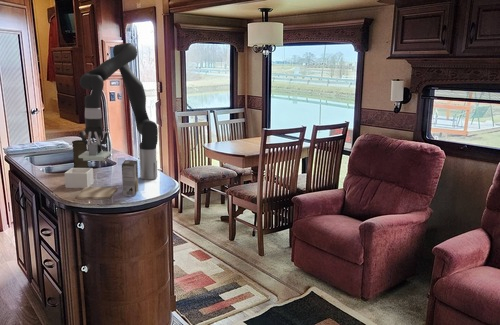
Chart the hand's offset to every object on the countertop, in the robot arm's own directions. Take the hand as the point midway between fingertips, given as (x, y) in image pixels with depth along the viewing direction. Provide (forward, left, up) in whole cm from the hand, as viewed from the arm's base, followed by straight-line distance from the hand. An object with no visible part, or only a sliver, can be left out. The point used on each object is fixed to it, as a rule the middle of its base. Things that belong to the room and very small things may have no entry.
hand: (95, 152), depth 204 cm
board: (0, 0, -21) cm, 21 cm away
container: (+22, -46, -21) cm, 55 cm away
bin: (+13, -15, -21) cm, 29 cm away
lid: (0, 0, -3) cm, 3 cm away
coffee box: (-16, -2, -21) cm, 27 cm away
